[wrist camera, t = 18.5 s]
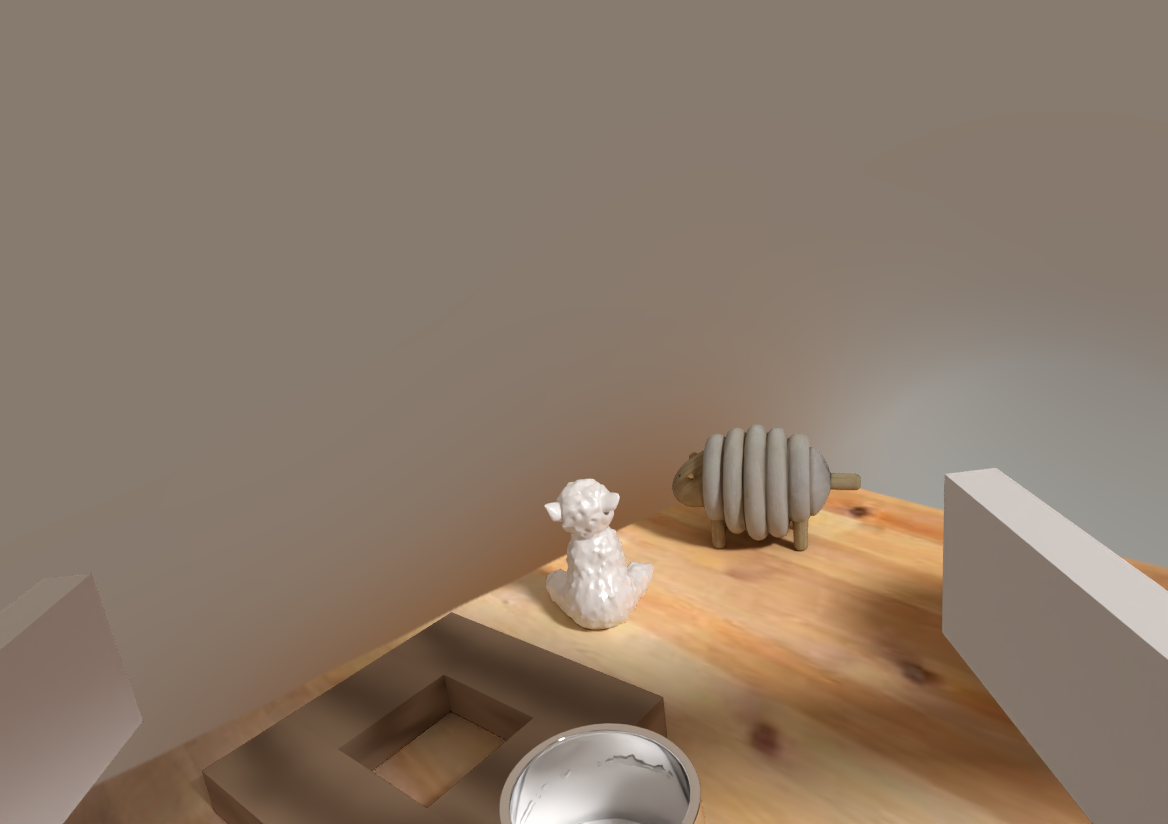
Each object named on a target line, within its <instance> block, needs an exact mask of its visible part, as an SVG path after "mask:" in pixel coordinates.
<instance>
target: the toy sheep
mask: <svg viewBox="0 0 1168 824" xmlns="http://www.w3.org/2000/svg"><path fill="white" fill-rule="evenodd" d="M860 479H861V478H860V476H859V475H858V474H845V473H830V471H829V467H828V465H827V463H826V461H825V459H824V457H823V456H822V454H821V453H820V452H819V451H818V450H817V449H816V448H815V447H809V439H808V438H807V437H806V436H805V435H803V434H798V433H797V434H794V435H792V436H791V437H790V438H789V439H788V438H787V434H786V432H785V431H784V430H783V429H781V428H773V429H771V430H770V431H769V432H768V433H767V432H766V430H765V428H764V427H763V426H761V425H753V426H751V427H750V428H749V429H748V430H747V433H745V432H744V431H743V430H742V429H740V428H733V429H731V430H730V431H729V432H728V433H727V436H726V437H724V436H723V435H720V434H714V435H712V436H710V437H709V438H708V439H707V441H706V443H705V448H704V451H702V452H700V453H698V454H697V453H692V454H690V455H689V460H688V461H687V462H686V463H685V464H684V465H683V466H682V467H681V468H680V469H679V470H678V472H677V474H676V475H675V478H674V481H673V485H672V489H673V493H674V495H675V497H676V498H677V499H678V501H680V502H681V503H682V504H684V505H687V506H691V507H705V512H706V514H707V516H708V518H710V520H711V532H712V544H713V546H714V547H715V548H718V549H720V548H723V547H724V546H725V544H726V539H725V527H726V526H727V527H728V529H729V530H730V531H731V532H733V533H736V534H740V533H742V532H744V531H745V530H747V532H748V534H749V536H750V537H751V538H752V539H754V540H763V539H765V538H766V537H767V535H768V533H770V534H771V535H772V536H774V537H778V538H780V537H784V536H785V535H786V534H787V532H788V528H789V523H790V521H792V522H793V530H794V531H793V533H794V547H795V548H796V549H797V550H799V551H803V550H805V549H807V548H808V519H809V518H810V516H814V515H816V514H817V513H818V512H819V511H820V510H821V509H822V507H823V506H824V504H825V503H826V501H827V499H828V496H829V493H830V490H831V489H834V490H858V489H859V488H860V483H861V480H860Z"/></svg>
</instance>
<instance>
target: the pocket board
mask: <svg viewBox="0 0 1168 824" xmlns="http://www.w3.org/2000/svg"><path fill="white" fill-rule="evenodd" d="M450 711H452V712H453V713H455V714H457V715H459V716H461V717H463V718H465V719H467V720H469V721H471V722H473V723H475V724H476V725H478V726H480V727H482V728H484V729H486V730H488V731H490V732H492V733H494V734H496V735H498V736H499V737H501V738H503V739H505V740H507V741H506V742H505V743H503V744H502V745H501V746H500V747H499V748H498V749H496V750H495V751H494V752H493V753H492V754H490V755H489V756H488V757H487V758H486V759H485V760H483V761H482V762H481V763H480V764H479V765H477V766H476V767H475V768H474V769H473V770H472V771H470V772H469V773H468V774H467V775H466V776H465V777H463V778H462V779H461V780H460V781H459V782H457V783H456V784H455V785H454V786H453V787H452V788H450V789H449V790H448V791H447V792H446V793H444V794H443V795H442V796H441V797H440V798H439V799H437V800H436V801H435V802H434V803H433V804H432V805H430V806H429V807H428V808H426V807H425V806H423V805H422V804H420V803H419V802H417V801H416V800H414V799H413V798H411V797H410V796H408V795H406V794H405V793H403V792H402V791H400V790H399V789H397V788H396V787H394V786H393V785H391V784H390V783H388V782H387V781H385V780H384V779H382V778H381V777H379V776H378V775H376V774H375V773H373V772H372V770H374V769H375V768H376V767H378V766H379V765H380V764H381V763H383V762H384V761H385V760H387V759H388V758H389V757H391V756H392V755H393V754H395V753H396V752H397V751H399V750H400V749H401V748H403V747H404V746H405V745H407V744H408V743H409V742H411V741H412V740H413V739H415V738H416V737H417V736H419V735H420V734H421V733H423V732H424V731H425V730H427V729H428V728H429V727H431V726H432V725H433V724H434V723H436V722H437V721H438V720H440V719H441V718H442V717H444V716H445V715H446V714H448V713H449V712H450ZM594 724H625V725H632V726H637V727H641V728H644V729H647V730H650V731H653V732H655V733H657V734H659V735H661V736H663V737H665V738H666V737H667V733H666V723H665V713H664V702H663V697H661V696H659V695H656V694H654V693H651V692H649V691H646V690H644V689H641V688H639V687H636V686H634V685H631V684H629V683H626V682H624V681H622V680H619V679H617V678H614V677H612V676H609V675H607V674H604V673H602V672H599V671H597V670H594V669H592V668H589V667H587V666H584V665H582V664H579V663H577V662H574V661H572V660H569V659H567V658H564V657H562V656H559V655H557V654H554V653H552V652H549V651H547V650H544V649H542V648H539V647H537V646H534V645H532V644H529V643H527V642H524V641H522V640H519V639H517V638H514V637H512V636H509V635H507V634H504V633H502V632H499V631H497V630H494V629H492V628H489V627H487V626H484V625H482V624H479V623H477V622H474V621H472V620H469V619H467V618H464V617H462V616H459V615H457V614H454V613H452V612H451V613H450V614H448V615H447V616H445V617H443V618H442V619H440V620H439V621H437V622H436V623H434V624H432V625H431V626H429V627H428V628H426V629H425V630H423V631H421V632H420V633H418V634H417V635H415V636H413V637H412V638H410V639H409V640H407V641H406V642H404V643H402V644H401V645H399V646H398V647H396V648H395V649H393V650H391V651H390V652H388V653H387V654H385V655H384V656H382V657H380V658H379V659H377V660H376V661H374V662H373V663H371V664H369V665H368V666H366V667H365V668H363V669H362V670H360V671H358V672H357V673H355V674H354V675H352V676H350V677H349V678H347V679H346V680H344V681H343V682H341V683H339V684H338V685H336V686H335V687H333V688H332V689H330V690H328V691H327V692H325V693H324V694H322V695H321V696H319V697H317V698H316V699H314V700H313V701H311V702H310V703H308V704H306V705H305V706H303V707H302V708H300V709H299V710H297V711H295V712H294V713H292V714H291V715H289V716H287V717H286V718H284V719H283V720H281V721H280V722H278V723H276V724H275V725H273V726H272V727H270V728H269V729H267V730H265V731H264V732H262V733H261V734H259V735H258V736H256V737H254V738H253V739H251V740H250V741H248V742H247V743H245V744H243V745H242V746H240V747H239V748H237V749H236V750H234V751H232V752H231V753H229V754H228V755H226V756H224V757H223V758H221V759H220V760H218V761H217V762H215V763H213V764H212V765H210V766H209V767H207V768H206V769H204V770H202V773H203V776H204V779H205V783H206V786H207V789H208V792H209V795H210V799H211V802H212V805H213V808H214V811H215V812H216V813H217V814H218V815H219V816H221V817H222V818H223V819H224V820H225V821H226V822H227V823H228V824H501V823H500V817H499V804H500V797H501V793H502V790H503V787H504V784H505V782H506V780H507V778H508V776H509V775H510V773H511V771H512V770H513V768H514V767H515V766H516V765H517V763H518V762H519V761H520V760H521V759H522V758H523V757H524V756H525V755H526V754H527V753H528V752H529V751H531V750H532V749H533V748H535V747H536V746H537V745H539V744H540V743H542V742H544V741H545V740H547V739H549V738H551V737H553V736H555V735H557V734H560V733H562V732H565V731H568V730H571V729H574V728H578V727H582V726H587V725H594Z"/></svg>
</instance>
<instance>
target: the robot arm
mask: <svg viewBox="0 0 1168 824" xmlns="http://www.w3.org/2000/svg"><path fill="white" fill-rule="evenodd" d="M942 633H943V634H944V636H945V637H946V638H947V640H948V641H949V642H950V643H951V645H952V646H953V647H954V648H955V650H956V651H957V652H958V653H959V655H960V656H961V657H962V659H963V660H964V661H965V662H966V664H967V665H968V666H969V667H970V669H971V670H972V671H973V673H974V674H975V675H976V676H977V678H978V679H979V680H980V681H981V683H982V684H983V685H984V687H985V688H986V689H987V690H988V692H989V693H990V694H991V695H992V697H993V698H994V699H995V700H996V702H997V703H998V704H999V706H1000V707H1001V708H1002V709H1003V711H1004V712H1005V713H1006V714H1007V716H1008V717H1009V718H1010V720H1011V721H1012V722H1013V723H1014V725H1015V726H1016V727H1017V728H1018V730H1019V731H1020V732H1021V734H1022V735H1023V736H1024V737H1025V739H1026V740H1027V741H1028V742H1029V744H1030V745H1031V746H1032V748H1033V749H1034V750H1035V751H1036V753H1037V754H1038V755H1039V756H1040V758H1041V759H1042V760H1043V761H1044V763H1045V764H1046V765H1047V767H1048V768H1049V769H1050V770H1051V772H1052V773H1053V774H1054V775H1055V777H1056V778H1057V779H1058V781H1059V782H1060V783H1061V784H1062V786H1063V787H1064V788H1065V789H1066V791H1067V792H1068V793H1069V795H1070V796H1071V797H1072V798H1073V800H1074V801H1075V802H1076V803H1077V805H1078V806H1079V807H1080V808H1081V810H1082V811H1083V812H1084V814H1085V815H1086V816H1087V817H1088V819H1089V820H1090V821H1091V822H1092V824H1168V591H1167V590H1166V589H1164V588H1163V587H1161V586H1160V585H1159V584H1157V583H1156V582H1154V581H1153V580H1152V579H1150V578H1149V577H1147V576H1146V575H1145V574H1143V573H1142V572H1140V571H1139V570H1138V569H1136V568H1135V567H1133V566H1132V565H1131V564H1129V563H1128V562H1126V561H1125V560H1124V559H1122V558H1121V557H1119V556H1118V555H1117V554H1115V553H1114V552H1113V551H1111V550H1110V549H1108V548H1107V547H1105V546H1104V545H1103V544H1101V543H1100V542H1099V541H1097V540H1096V539H1094V538H1093V537H1092V536H1090V535H1089V534H1087V533H1086V532H1085V531H1083V530H1082V529H1080V528H1079V527H1078V526H1076V525H1075V524H1073V523H1072V522H1071V521H1069V520H1068V519H1066V518H1065V517H1063V516H1062V515H1061V514H1059V513H1058V512H1057V511H1055V510H1054V509H1052V508H1051V507H1050V506H1048V505H1047V504H1046V503H1044V502H1043V501H1041V500H1040V499H1038V498H1037V497H1036V496H1034V495H1033V494H1031V493H1030V492H1029V491H1027V490H1026V489H1024V488H1023V487H1022V486H1020V485H1019V484H1018V483H1016V482H1015V481H1013V480H1012V479H1011V478H1009V477H1008V476H1006V475H1005V474H1004V473H1002V472H1001V471H999V470H998V469H997V468H992V469H983V470H975V471H966V472H958V473H949V474H945V486H944V542H943V598H942ZM142 722H143V719H142V717H141V714H140V711H139V708H138V705H137V702H136V699H135V696H134V693H133V691H132V688H131V685H130V682H129V679H128V676H127V674H126V671H125V668H124V665H123V662H122V659H121V656H120V653H119V650H118V648H117V645H116V642H115V639H114V636H113V633H112V630H111V627H110V625H109V622H108V619H107V616H106V613H105V610H104V608H103V605H102V602H101V599H100V596H99V593H98V591H97V587H96V585H95V582H94V579H93V576H92V574H91V573H89V574H79V575H71V576H62V577H54V578H45V579H42V580H41V581H40V582H38V583H37V584H36V585H35V586H33V587H32V588H31V589H29V590H28V591H27V592H25V593H24V594H23V595H22V596H20V597H19V598H18V599H16V600H15V601H14V602H13V603H11V604H10V605H9V606H7V607H6V608H5V609H3V610H2V611H1V612H0V824H63V823H64V822H65V821H66V819H67V818H68V817H69V815H70V814H71V813H72V812H73V810H74V809H75V808H76V806H77V805H78V804H79V803H80V801H81V800H82V799H83V797H84V796H85V795H86V794H87V792H88V791H89V790H90V788H91V787H92V786H93V785H94V783H95V782H96V781H97V779H98V778H99V777H100V776H101V774H102V773H103V772H104V771H105V769H106V768H107V766H108V765H109V764H110V763H111V761H112V760H113V759H114V758H115V756H116V755H117V754H118V753H119V751H120V750H121V749H122V747H123V746H124V745H125V744H126V742H127V741H128V740H129V738H130V737H131V736H132V735H133V733H134V732H135V731H136V729H137V728H138V727H139V726H140V724H141V723H142Z"/></svg>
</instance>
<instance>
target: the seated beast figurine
mask: <svg viewBox="0 0 1168 824" xmlns="http://www.w3.org/2000/svg"><path fill="white" fill-rule="evenodd" d="M618 502H619V495H618V493H610V492H609V491H608V490H607V489H606V487H604V485H603V484H602V485H600V484H599V482H596V481H595V480H594V479H583V480H577V481H575V482H569V483H568V484H567V486H566V487H565V488H564V489H563V490H562V492H561V494H560V495H559V496H558V498H557V500H556V502H555V503H549V504H546V505H545V508H546V510H547V511H548V513H549V515H550V517H551V518H552V520H553V521H557V522H561V524H562V526H563V528H564V530H565V531H568V532H572V533H571V541H570V542H569V544H568V551H567V558H566V561H567V563H568V570H567V572H566V571H563V570H561V569H560V570H558V571H555V572H553V573H550V574H548V576H547V578H546V590H547V591H548V592H549V594H550V597H551V600H552V602H553V601H554V602H556V604H558V605H559V607H560V608H561V610H562V611H563V612H565V613H566V615H567V616H569V617H571V618H572V619H573V620H574V621H575V623H577V624H579V625H580V626H581V627H583V628H588V629H590V630H599V629H608V628H612V627H616V626H617V625H619V624H622V623H625V622H626V621H627V618H628V617H630V613H632V611H634V610H635V607H636V606H637V602H638V601H639V600H640V599H641V598H642V597H643V596H644V595H645V591H646V590H647V588H648V585H649V584H650V582H651V581H652V578H653V574H654V568H653V566H652V565H651V564H650V563H641V562H634V561H633V562H630V564H629V565H628V566H627V567H626V566H625V565H624V563H625V559H624V558H625V554H624V552H623V551H622V543H621V542H620V541H619V537H617V536H616V531H615V530H614V529H611V528H610V527H609V526H608V525H609V524H610V522H611V520H612V518H613V516H614V509H615V508H616V506H617V504H618Z"/></svg>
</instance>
